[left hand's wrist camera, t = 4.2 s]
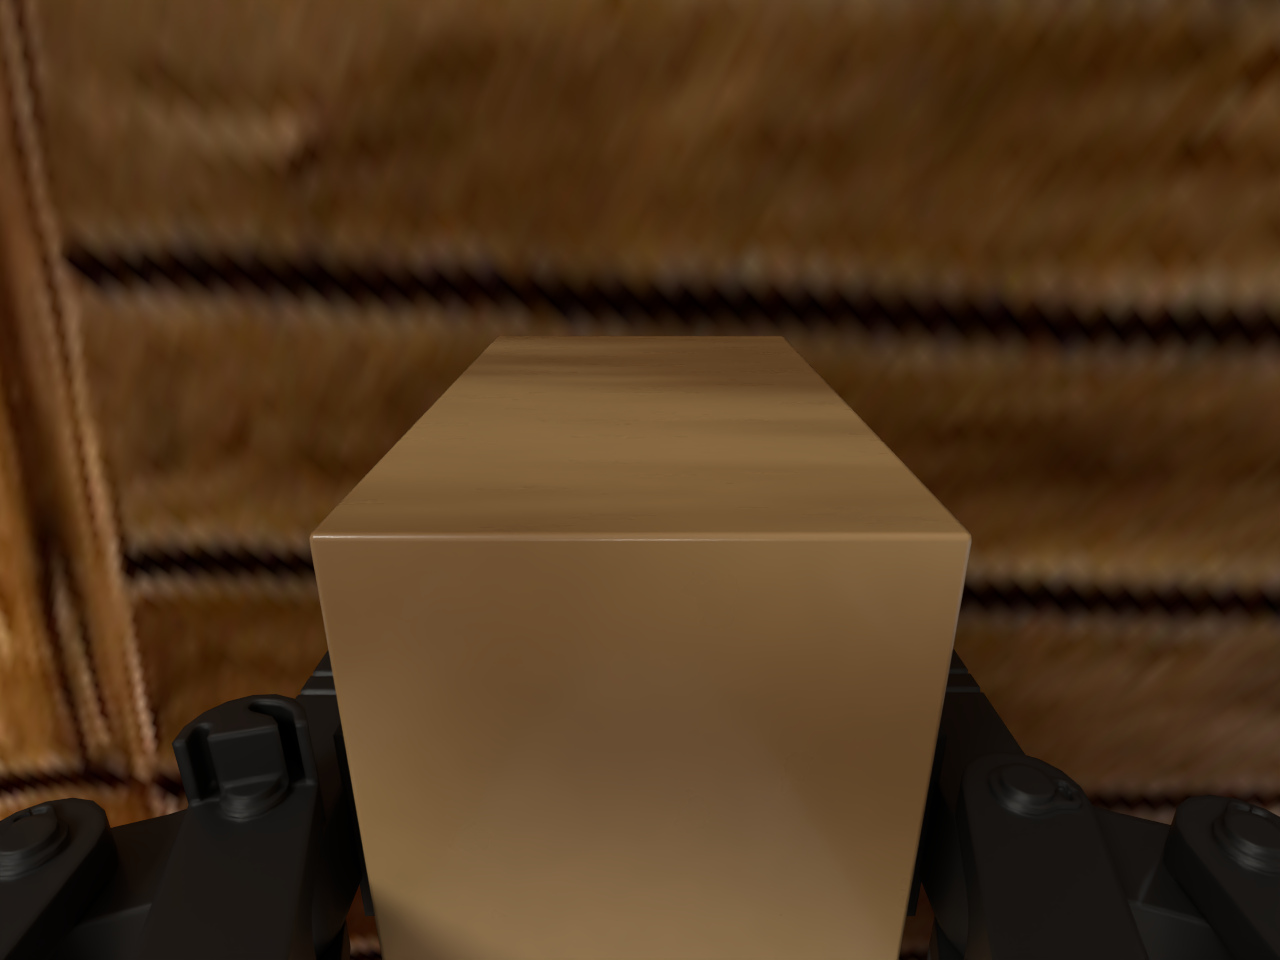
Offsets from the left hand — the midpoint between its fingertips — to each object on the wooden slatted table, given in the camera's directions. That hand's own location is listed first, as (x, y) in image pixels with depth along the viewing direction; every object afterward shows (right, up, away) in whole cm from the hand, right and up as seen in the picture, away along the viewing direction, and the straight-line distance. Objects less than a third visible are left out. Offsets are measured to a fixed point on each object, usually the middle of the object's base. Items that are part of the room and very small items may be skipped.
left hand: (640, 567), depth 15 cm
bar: (0, -7, +4) cm, 8 cm away
